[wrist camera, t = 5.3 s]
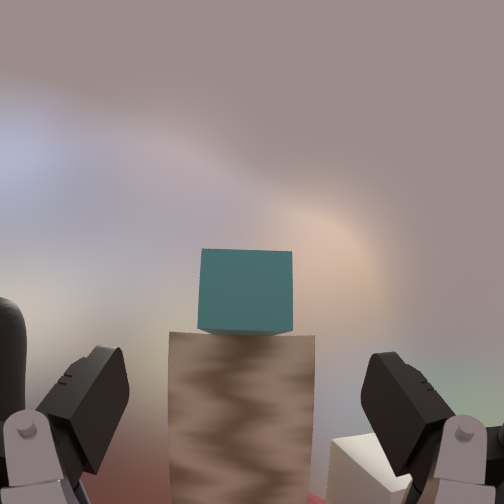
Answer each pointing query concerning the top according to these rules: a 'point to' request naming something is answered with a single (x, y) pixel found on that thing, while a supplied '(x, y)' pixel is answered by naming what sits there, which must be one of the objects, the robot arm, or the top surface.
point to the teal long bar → (245, 292)
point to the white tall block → (362, 473)
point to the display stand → (240, 418)
